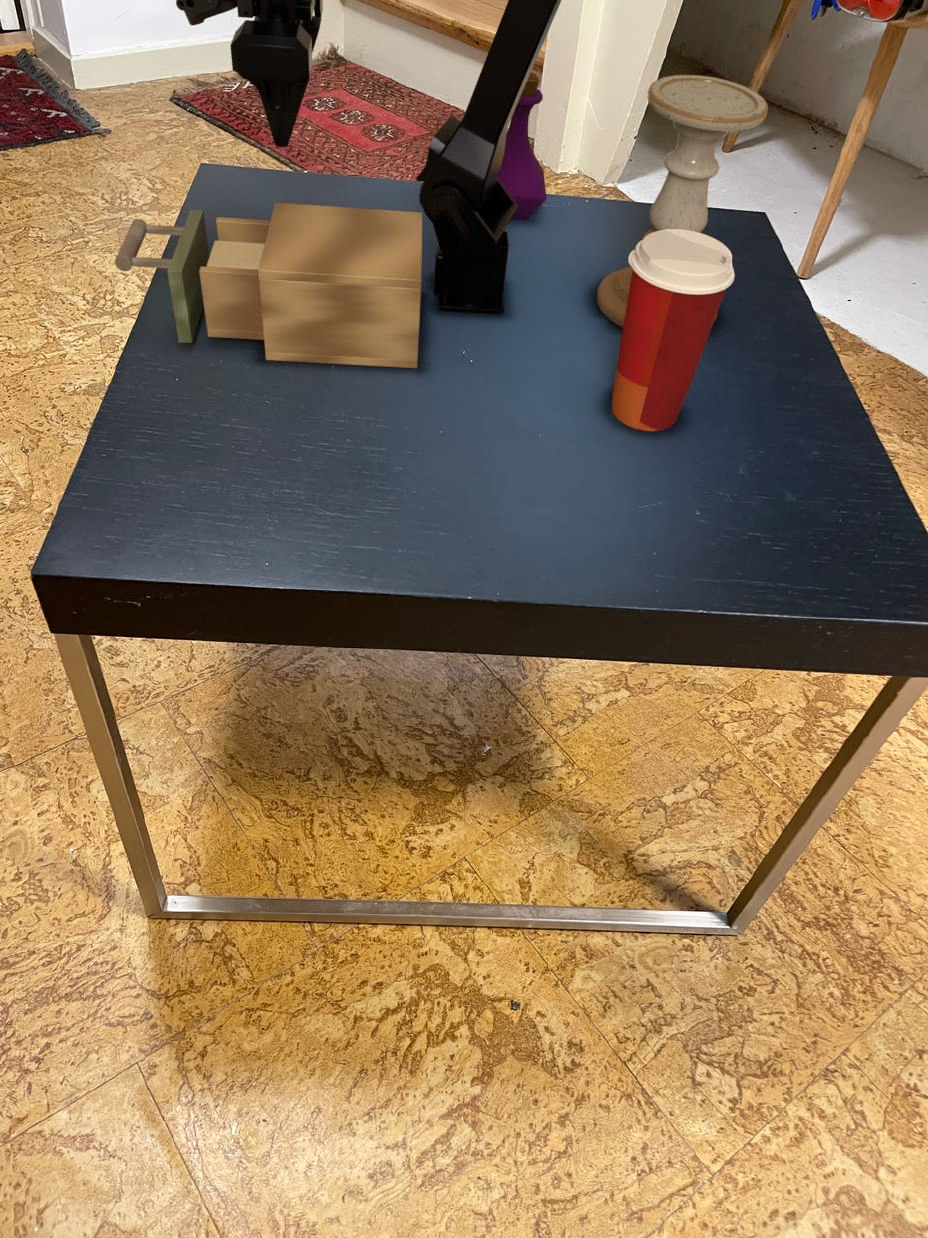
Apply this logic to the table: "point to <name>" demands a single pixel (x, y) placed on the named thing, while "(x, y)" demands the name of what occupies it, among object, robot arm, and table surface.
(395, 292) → the cabinet
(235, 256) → the block
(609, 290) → the candle holder
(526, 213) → the perfume bottle
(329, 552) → the table surface
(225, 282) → the drawer
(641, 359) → the coffee cup
